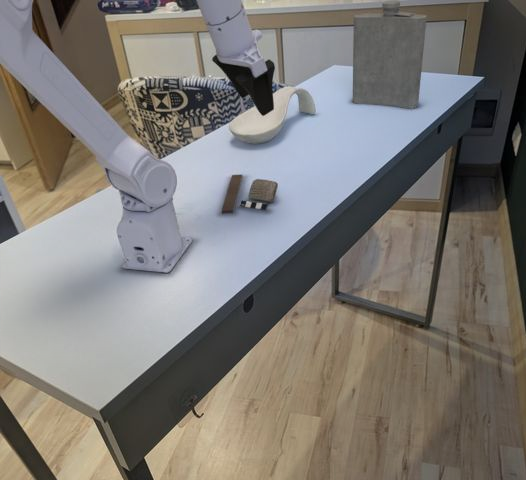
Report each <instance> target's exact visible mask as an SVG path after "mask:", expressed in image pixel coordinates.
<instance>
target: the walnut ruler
mask: <svg viewBox="0 0 526 480" xmlns="http://www.w3.org/2000/svg"><path fill="white" fill-rule="evenodd" d="M243 178H244V177H243V174H231V178H230V181H229V183H228V186H227V187H228V188H227V191H226V194H225V198H224V201H223V204H222V207H221V214H224V215H225V214H234V212H235V207H236V204H237V200H238V196H239V193H240V190H241V185H242V181H243Z"/></svg>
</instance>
